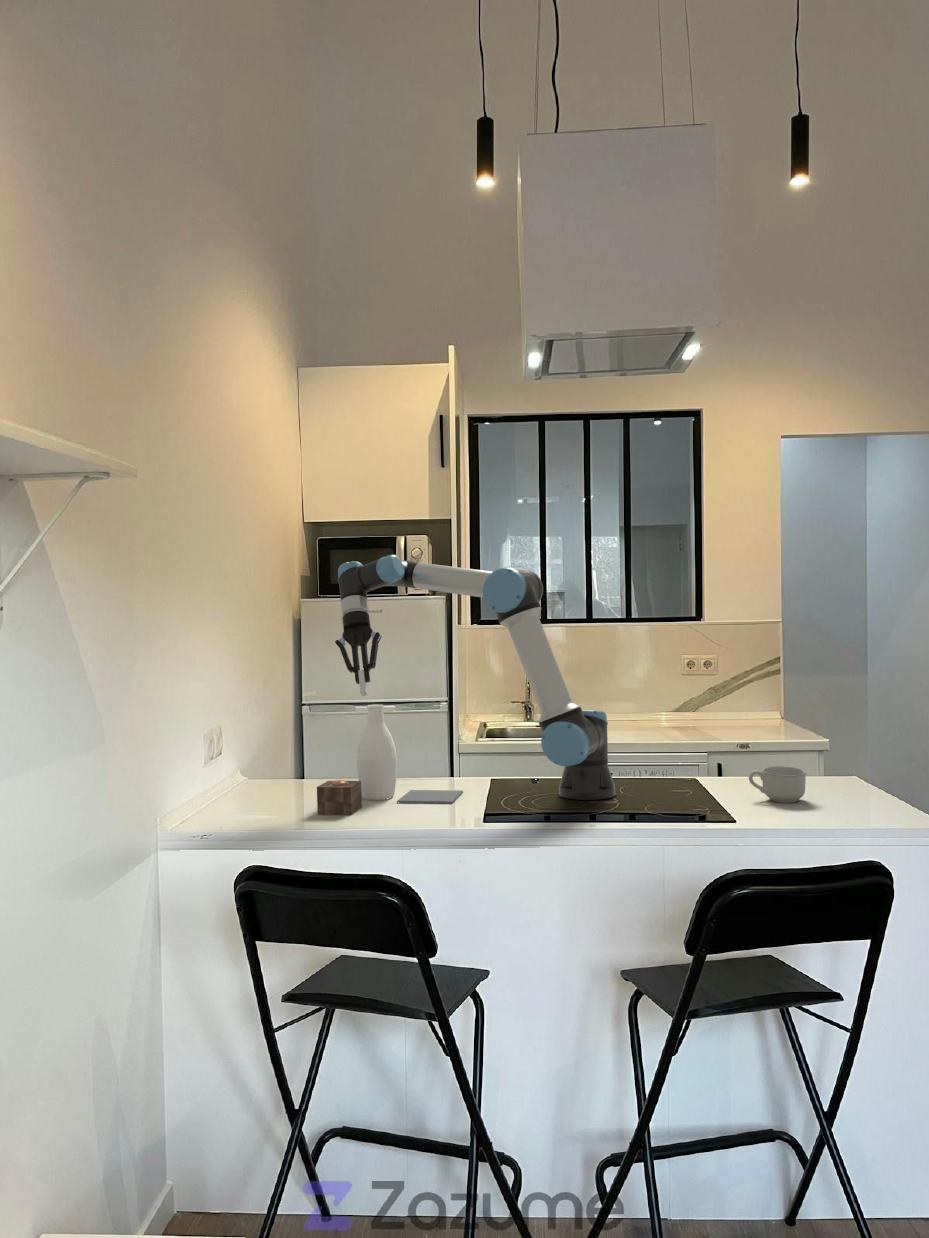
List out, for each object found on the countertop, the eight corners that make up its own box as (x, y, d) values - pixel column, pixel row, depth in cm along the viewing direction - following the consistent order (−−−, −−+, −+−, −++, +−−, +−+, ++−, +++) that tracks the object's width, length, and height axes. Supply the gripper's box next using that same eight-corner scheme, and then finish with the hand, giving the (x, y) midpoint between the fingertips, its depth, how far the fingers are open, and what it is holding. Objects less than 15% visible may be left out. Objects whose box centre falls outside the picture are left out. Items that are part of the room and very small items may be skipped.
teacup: (808, 797, 248) (807, 766, 248) (804, 806, 238) (803, 774, 238) (753, 794, 254) (752, 764, 254) (746, 802, 244) (746, 771, 244)
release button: (350, 801, 249) (349, 780, 249) (345, 805, 245) (344, 783, 245) (334, 801, 250) (333, 779, 250) (328, 804, 245) (328, 783, 245)
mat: (463, 792, 267) (463, 790, 267) (452, 803, 252) (452, 801, 252) (410, 792, 270) (410, 789, 270) (397, 803, 255) (397, 800, 255)
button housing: (361, 807, 251) (361, 780, 251) (351, 814, 242) (350, 787, 242) (329, 806, 253) (328, 780, 252) (317, 814, 244) (316, 786, 244)
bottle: (349, 798, 263) (346, 706, 262) (375, 791, 272) (372, 702, 271) (380, 802, 256) (377, 707, 256) (406, 795, 265) (403, 703, 265)
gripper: (381, 615, 272) (390, 693, 262) (336, 624, 273) (344, 702, 263) (375, 605, 265) (384, 685, 256) (329, 614, 266) (337, 694, 256)
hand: (364, 693), depth 259 cm, fingers closed
